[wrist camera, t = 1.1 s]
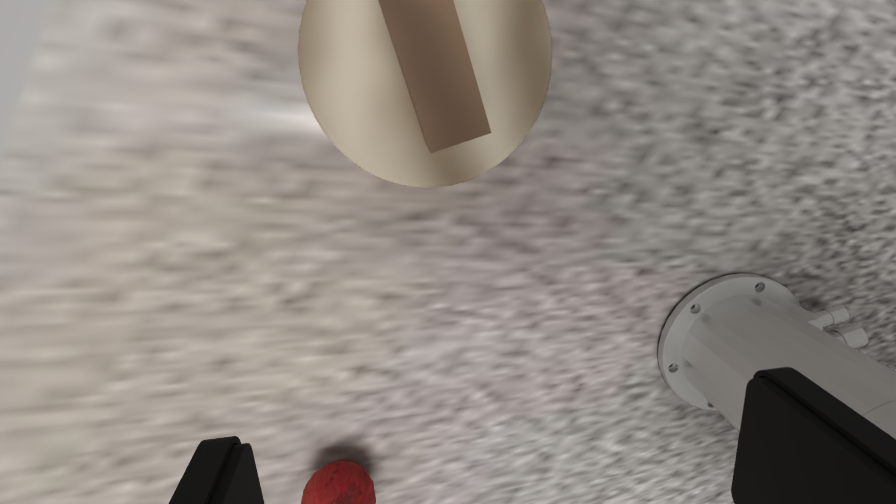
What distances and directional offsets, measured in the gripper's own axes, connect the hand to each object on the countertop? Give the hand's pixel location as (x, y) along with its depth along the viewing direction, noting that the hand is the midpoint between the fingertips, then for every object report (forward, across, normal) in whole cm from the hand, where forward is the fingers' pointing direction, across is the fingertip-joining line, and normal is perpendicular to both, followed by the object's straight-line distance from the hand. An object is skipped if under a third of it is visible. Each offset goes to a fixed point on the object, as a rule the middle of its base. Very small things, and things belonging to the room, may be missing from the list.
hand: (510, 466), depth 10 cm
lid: (+23, -1, -8) cm, 24 cm away
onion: (+30, +8, +25) cm, 40 cm away
